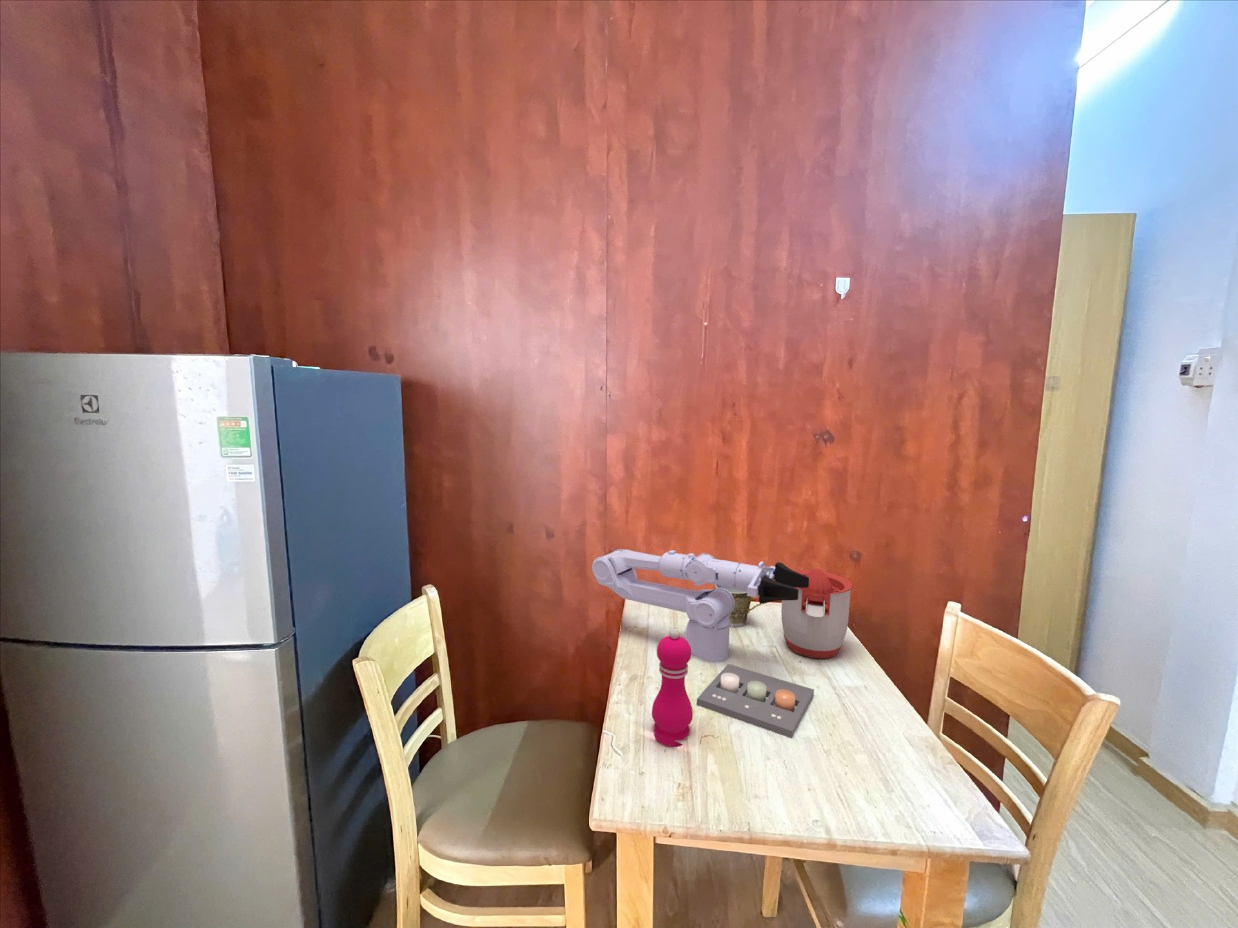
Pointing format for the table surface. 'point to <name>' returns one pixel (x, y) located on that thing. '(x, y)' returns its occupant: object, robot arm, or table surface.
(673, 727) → the pepper mill
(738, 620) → the ceramic cup
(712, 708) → the button panel
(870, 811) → the table surface
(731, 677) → the button white
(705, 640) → the robot arm
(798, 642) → the citrus juicer
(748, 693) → the button green
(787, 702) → the button terracotta
